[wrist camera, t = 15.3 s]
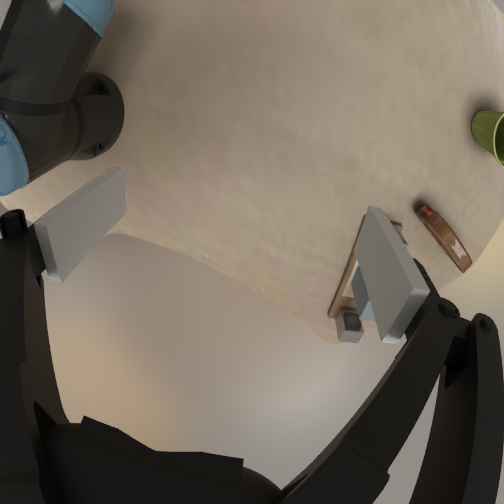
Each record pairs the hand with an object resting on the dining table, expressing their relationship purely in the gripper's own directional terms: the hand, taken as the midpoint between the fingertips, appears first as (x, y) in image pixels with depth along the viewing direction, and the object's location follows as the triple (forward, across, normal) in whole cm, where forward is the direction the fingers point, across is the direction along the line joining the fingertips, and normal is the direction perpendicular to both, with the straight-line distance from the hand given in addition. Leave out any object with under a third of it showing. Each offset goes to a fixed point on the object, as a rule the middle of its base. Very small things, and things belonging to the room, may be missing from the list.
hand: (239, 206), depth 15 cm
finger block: (+27, +21, -22) cm, 41 cm away
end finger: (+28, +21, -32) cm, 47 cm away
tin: (+29, +32, -10) cm, 44 cm away
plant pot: (+29, +35, +10) cm, 46 cm away
